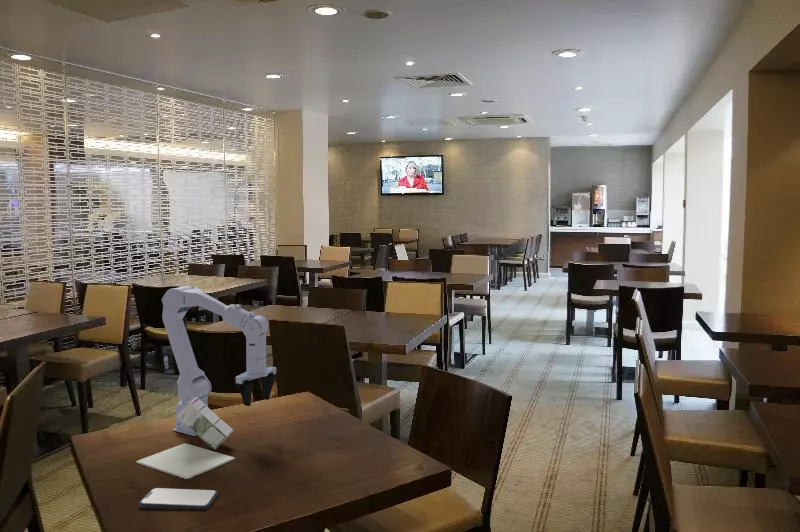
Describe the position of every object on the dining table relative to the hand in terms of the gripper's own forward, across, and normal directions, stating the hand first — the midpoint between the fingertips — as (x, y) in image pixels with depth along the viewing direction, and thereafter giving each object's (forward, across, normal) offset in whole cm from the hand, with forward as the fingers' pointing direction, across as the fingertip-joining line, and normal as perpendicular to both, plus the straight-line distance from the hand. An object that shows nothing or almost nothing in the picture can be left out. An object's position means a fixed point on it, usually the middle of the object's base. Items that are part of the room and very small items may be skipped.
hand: (256, 402), depth 198 cm
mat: (+10, -25, +1) cm, 27 cm away
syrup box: (+8, -12, 0) cm, 15 cm away
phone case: (+11, -41, -17) cm, 46 cm away
